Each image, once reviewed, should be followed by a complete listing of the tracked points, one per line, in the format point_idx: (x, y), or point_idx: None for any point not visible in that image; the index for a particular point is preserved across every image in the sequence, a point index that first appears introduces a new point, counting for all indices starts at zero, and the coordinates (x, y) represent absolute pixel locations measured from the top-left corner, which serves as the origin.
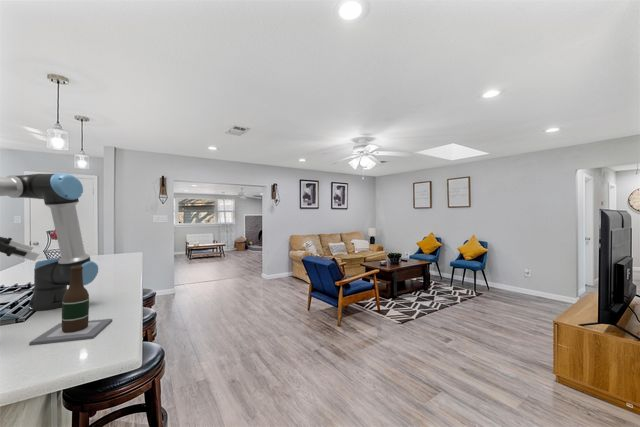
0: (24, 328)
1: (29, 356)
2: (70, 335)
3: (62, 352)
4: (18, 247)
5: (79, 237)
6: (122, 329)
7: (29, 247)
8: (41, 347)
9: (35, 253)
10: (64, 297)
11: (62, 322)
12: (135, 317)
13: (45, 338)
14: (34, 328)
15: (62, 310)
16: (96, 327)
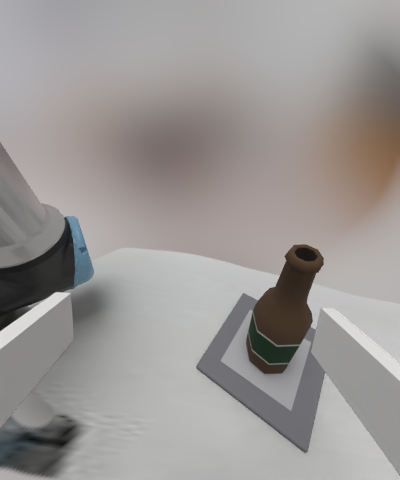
0: (145, 437)
1: (393, 467)
2: (306, 367)
3: None
4: (10, 385)
5: (5, 150)
6: None
7: (59, 312)
8: (336, 430)
9: (348, 326)
10: (295, 336)
11: (274, 367)
12: (249, 270)
13: (297, 413)
14: (168, 416)
15: (277, 355)
16: None
